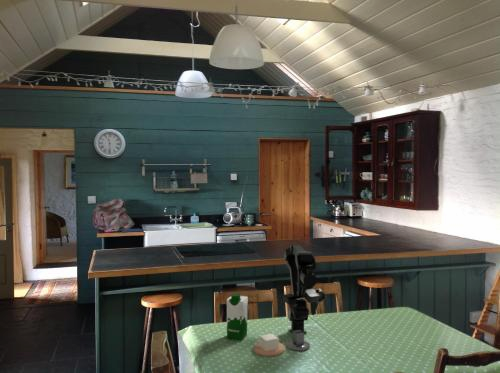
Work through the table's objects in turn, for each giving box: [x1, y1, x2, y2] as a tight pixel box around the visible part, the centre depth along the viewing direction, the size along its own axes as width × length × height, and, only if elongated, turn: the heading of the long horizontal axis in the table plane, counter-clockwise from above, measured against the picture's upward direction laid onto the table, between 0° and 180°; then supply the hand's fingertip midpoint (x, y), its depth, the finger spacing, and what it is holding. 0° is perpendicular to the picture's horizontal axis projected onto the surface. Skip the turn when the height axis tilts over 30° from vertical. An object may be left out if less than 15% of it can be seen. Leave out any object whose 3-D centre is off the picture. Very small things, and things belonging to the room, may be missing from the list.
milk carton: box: [226, 293, 249, 342], centre depth 196 cm, size 9×9×20 cm
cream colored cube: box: [259, 333, 280, 351], centre depth 183 cm, size 6×6×4 cm
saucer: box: [253, 341, 286, 358], centre depth 183 cm, size 13×13×1 cm
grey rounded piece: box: [285, 330, 311, 352], centre depth 186 cm, size 10×10×6 cm
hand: (304, 316), depth 189 cm, fingers open, 9 cm apart
